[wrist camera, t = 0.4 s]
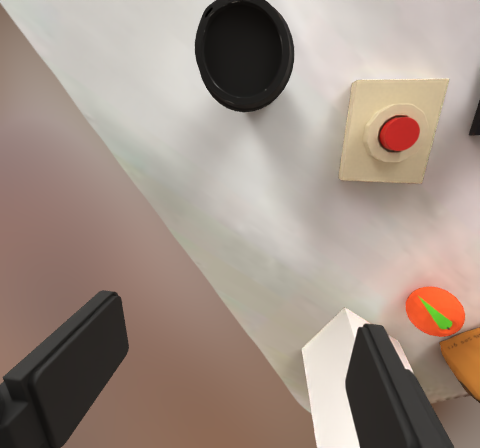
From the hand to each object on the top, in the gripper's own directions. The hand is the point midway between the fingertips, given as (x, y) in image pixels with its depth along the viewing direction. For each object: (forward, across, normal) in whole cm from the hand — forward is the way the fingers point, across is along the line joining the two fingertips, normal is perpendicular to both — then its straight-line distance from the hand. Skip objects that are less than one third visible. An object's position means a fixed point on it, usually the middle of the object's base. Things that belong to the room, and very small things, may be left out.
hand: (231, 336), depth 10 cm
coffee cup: (+31, +2, -13) cm, 33 cm away
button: (+27, -15, -8) cm, 31 cm away
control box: (+30, -15, -8) cm, 35 cm away
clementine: (+31, -25, +16) cm, 43 cm away
